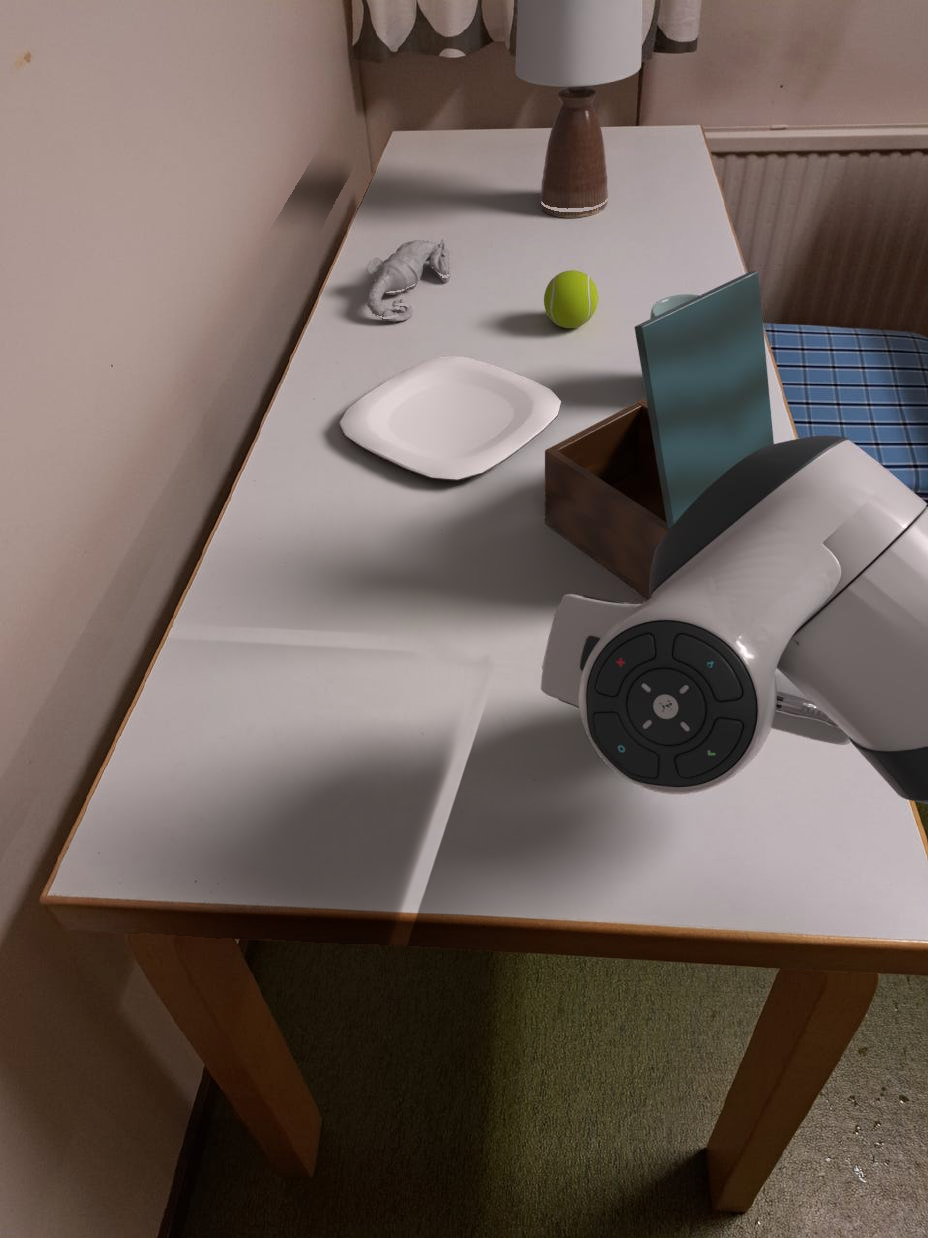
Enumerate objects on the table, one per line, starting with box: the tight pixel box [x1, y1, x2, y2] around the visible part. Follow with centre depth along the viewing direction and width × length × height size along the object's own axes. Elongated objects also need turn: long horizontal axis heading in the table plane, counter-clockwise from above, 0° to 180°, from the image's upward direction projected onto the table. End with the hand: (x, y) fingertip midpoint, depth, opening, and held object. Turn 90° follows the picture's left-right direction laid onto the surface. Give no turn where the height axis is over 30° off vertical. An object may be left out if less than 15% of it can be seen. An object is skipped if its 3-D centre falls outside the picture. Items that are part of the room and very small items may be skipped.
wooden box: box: [544, 399, 670, 600], centre depth 78 cm, size 16×13×9 cm
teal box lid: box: [634, 270, 775, 528], centre depth 66 cm, size 16×13×1 cm
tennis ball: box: [543, 269, 599, 329], centre depth 109 cm, size 7×7×7 cm
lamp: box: [514, 0, 643, 219], centre depth 125 cm, size 19×19×37 cm
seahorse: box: [365, 238, 451, 323], centre depth 119 cm, size 5×12×20 cm
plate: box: [339, 355, 562, 482], centre depth 96 cm, size 22×22×2 cm
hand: (702, 666), depth 62 cm, fingers closed on pill bottle, 6 cm apart
